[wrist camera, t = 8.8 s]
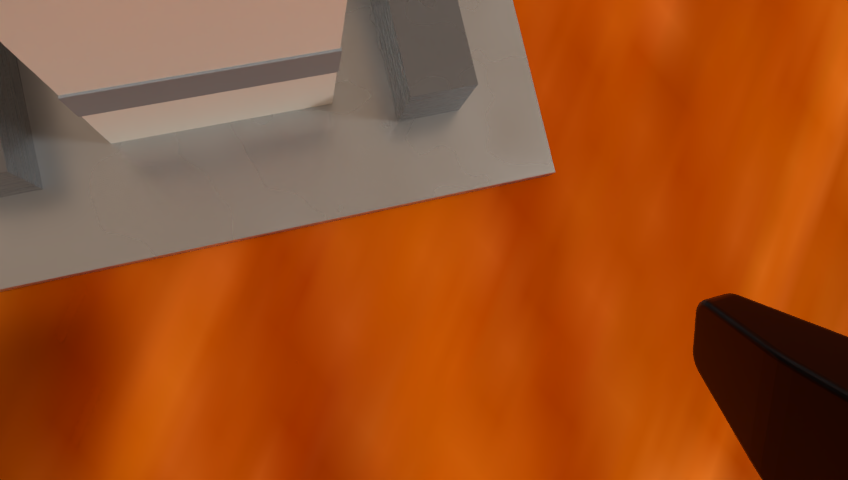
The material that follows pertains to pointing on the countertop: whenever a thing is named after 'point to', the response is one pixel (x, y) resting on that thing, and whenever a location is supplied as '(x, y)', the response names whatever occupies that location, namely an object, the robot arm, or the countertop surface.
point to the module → (177, 58)
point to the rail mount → (275, 148)
